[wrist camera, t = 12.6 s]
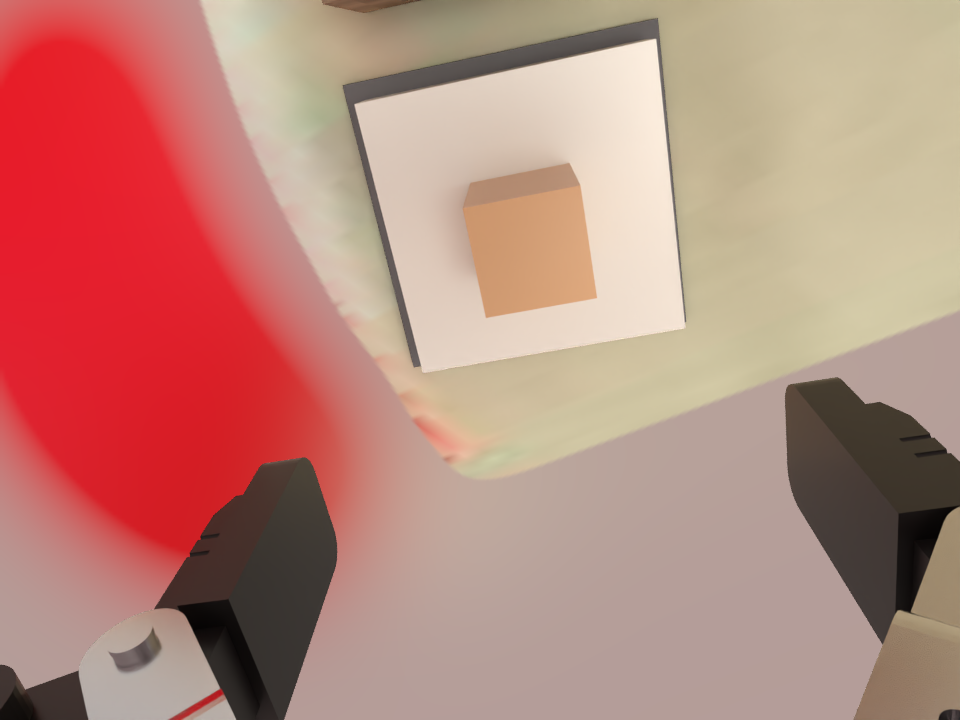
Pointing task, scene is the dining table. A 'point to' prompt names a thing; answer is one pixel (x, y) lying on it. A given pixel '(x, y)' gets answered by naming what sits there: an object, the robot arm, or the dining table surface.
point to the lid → (529, 206)
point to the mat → (480, 67)
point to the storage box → (365, 4)
